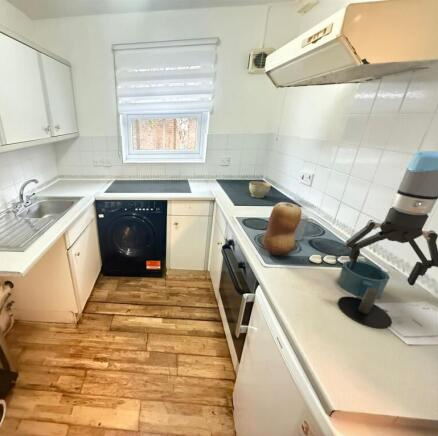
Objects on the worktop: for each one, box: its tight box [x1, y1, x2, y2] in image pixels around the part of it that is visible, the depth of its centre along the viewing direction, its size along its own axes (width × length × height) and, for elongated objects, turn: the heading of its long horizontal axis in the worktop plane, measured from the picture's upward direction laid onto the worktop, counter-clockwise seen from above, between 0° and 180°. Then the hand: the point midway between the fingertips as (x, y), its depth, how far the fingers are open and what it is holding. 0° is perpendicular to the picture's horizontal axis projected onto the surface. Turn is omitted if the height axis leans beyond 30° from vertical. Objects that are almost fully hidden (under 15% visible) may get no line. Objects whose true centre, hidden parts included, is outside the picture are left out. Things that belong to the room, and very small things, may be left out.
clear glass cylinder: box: [294, 212, 310, 241], centre depth 128 cm, size 10×10×12 cm
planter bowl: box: [248, 181, 272, 199], centre depth 194 cm, size 16×16×11 cm
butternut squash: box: [262, 201, 303, 256], centre depth 109 cm, size 14×13×25 cm
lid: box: [337, 287, 393, 330], centre depth 77 cm, size 14×14×10 cm
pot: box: [337, 259, 390, 300], centre depth 88 cm, size 13×18×8 cm
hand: (379, 274), depth 73 cm, fingers open, 13 cm apart
